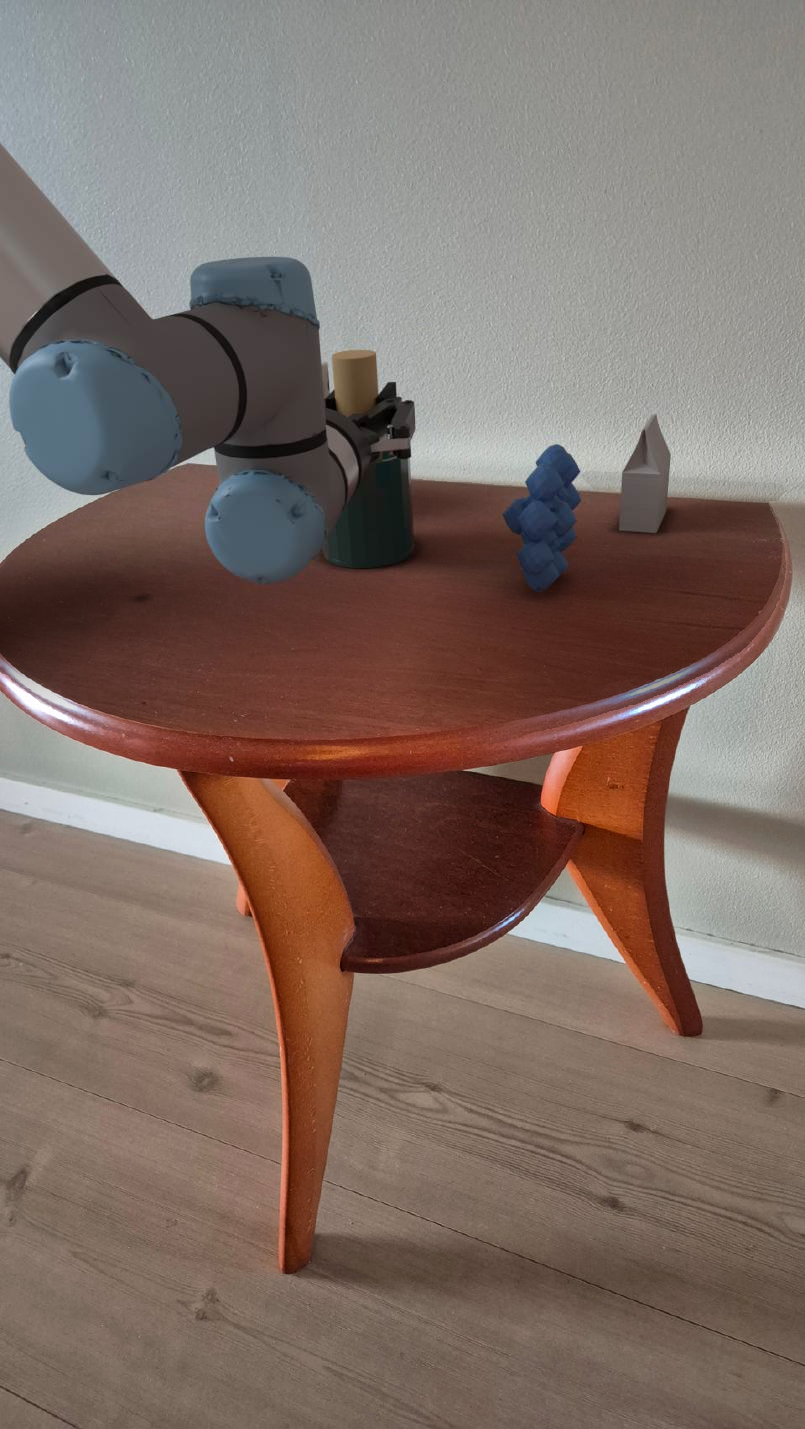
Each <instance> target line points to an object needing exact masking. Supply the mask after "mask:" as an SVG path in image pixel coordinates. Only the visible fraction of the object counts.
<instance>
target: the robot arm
mask: <svg viewBox="0 0 805 1429" xmlns="http://www.w3.org/2000/svg"><path fill="white" fill-rule="evenodd" d="M312 282H313V280H312V276H311V273H310V271H309V269H308V267H307V266H306V265H305V264H304V263H303V262H302V261H300V260H298V259H296V258H293V257H287V256H252V257H251V256H250V257H237V258H229V259H228V258H227V259H220V260H219V259H218V260H213V261H209V262H208V261H207V262H204V263H201V264H199V265H198V266H197V267H195V269H193V271H192V272H191V274H190V278H189V284H190V285H189V286H190V301H189V302H188V303H189V309H188V310H183V311H180V312H177V313H173V314H169V315H165V316H161V317H158V318H152V317H151V316H150V314H148V312H146V310H145V309H144V307H143V306H142V305H141V304H140V303H139V302H138V301H137V299H136V298H135V297H134V296H133V295H132V294H131V292H129V290H128V289H126V288H125V286H124V285H123V284H122V283H121V282H120V281H119V279H117V277H116V276H115V275H114V274H113V272H112V271H111V270H110V268H108V266H106V264H105V263H104V262H103V261H102V260H101V259H100V257H99V256H98V255H97V254H96V253H95V252H94V250H93V249H92V248H91V247H90V246H89V245H88V243H87V242H86V241H85V240H84V239H83V238H82V236H81V235H80V234H79V233H78V231H76V229H75V228H74V227H73V226H72V225H71V223H70V222H69V221H68V220H67V219H66V218H65V217H64V215H63V214H62V213H61V212H60V211H59V210H58V208H57V207H56V206H55V205H54V204H53V203H52V201H51V200H50V199H49V198H48V197H47V196H46V194H45V193H44V191H43V190H41V188H40V187H39V186H38V185H37V184H36V183H35V182H34V181H33V179H32V178H31V177H30V176H29V174H28V173H27V172H26V171H25V170H24V168H22V167H21V165H20V164H19V163H18V161H16V159H15V158H14V157H13V156H12V154H11V153H10V152H9V151H8V150H7V148H6V147H5V146H4V145H3V144H2V143H1V142H0V359H1V360H2V362H4V363H5V365H6V366H7V367H8V368H9V369H10V371H11V372H12V373H13V375H14V376H13V378H12V379H11V380H12V381H11V382H10V387H9V393H8V395H9V396H8V407H9V415H10V419H11V423H12V427H13V430H14V431H16V432H18V433H19V434H20V436H21V439H22V442H23V444H24V448H23V450H24V453H25V455H26V456H27V458H28V459H29V461H30V462H31V463H32V464H33V466H34V467H35V468H36V469H37V470H38V471H39V473H41V474H42V476H44V477H46V478H47V479H48V480H49V481H50V482H52V483H54V484H55V485H57V486H58V487H60V488H62V489H64V490H66V491H69V492H72V493H75V494H78V495H82V496H83V495H85V496H102V495H105V494H110V493H113V492H116V491H118V490H122V489H126V488H129V487H132V486H134V485H139V484H142V483H145V482H150V481H153V480H155V479H157V478H158V477H159V476H162V474H166V473H167V472H168V471H170V470H171V468H173V467H176V466H178V465H181V463H184V462H186V461H187V460H190V459H192V458H193V457H196V456H198V455H200V454H201V453H204V452H206V451H207V450H211V449H213V452H214V457H215V464H216V471H217V477H218V478H217V479H218V484H219V485H218V486H217V487H216V488H215V492H214V493H213V495H212V497H211V499H210V502H209V504H208V506H207V509H206V513H205V518H204V530H205V531H204V532H205V537H206V540H207V543H208V547H209V548H210V550H211V552H212V554H213V555H214V557H215V558H216V559H217V561H218V562H219V563H220V564H221V565H222V566H223V568H225V569H226V570H227V571H228V572H229V573H231V574H233V575H234V576H236V577H237V578H239V579H243V580H244V581H247V582H250V583H254V584H260V585H274V584H280V583H283V582H286V581H288V580H290V579H292V578H295V577H296V576H297V575H299V574H300V573H301V572H302V571H304V569H305V568H306V567H307V566H308V565H309V564H310V563H311V562H312V561H313V560H314V559H316V558H317V557H318V556H319V555H320V553H321V551H323V546H324V544H325V543H326V540H327V538H328V536H329V534H330V533H331V531H332V529H333V527H334V526H335V524H336V522H337V520H338V519H339V517H340V515H341V514H342V512H343V510H344V509H345V507H346V505H347V504H348V502H349V501H350V499H351V497H352V496H353V495H354V493H355V492H356V490H357V489H358V487H359V486H360V484H361V482H362V481H363V479H364V477H365V474H366V472H367V469H368V466H369V463H370V462H372V461H375V460H376V459H378V458H379V456H380V452H384V451H388V454H389V455H390V456H393V455H395V456H396V457H397V458H399V459H407V458H410V459H411V458H412V440H413V437H414V434H415V432H416V410H415V408H416V407H415V401H414V400H412V399H411V400H410V399H405V400H404V401H403V398H402V396H397V394H398V393H397V381H388V382H387V383H386V384H385V386H383V388H382V390H381V391H380V392H378V393H379V395H378V396H377V397H376V406H374V407H373V408H371V409H369V410H368V411H366V412H365V413H363V414H352V415H350V416H349V417H346V416H345V415H343V414H341V413H339V412H337V411H336V402H335V390H334V389H333V390H332V391H330V394H329V395H328V396H327V397H326V398H324V391H323V378H322V365H321V361H322V353H321V338H320V329H321V324H320V323H321V322H320V321H319V319H318V317H317V309H316V303H315V294H314V289H313V283H312Z"/></svg>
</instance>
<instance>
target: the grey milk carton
mask: <svg viewBox="0 0 805 1429" xmlns="http://www.w3.org/2000/svg"><path fill="white" fill-rule="evenodd" d="M658 420H659V419H658V415H657V413H655V414H654V413H652V414H651V415H650V417H649V419H647V422H646V423H645V425H644V426H643V428H642V430H641V431H640V436H639V439H638V441H637V443H636V446H635V448H634V450H633V452H632V453H631V456H630V458H629V459H628V461H627V463H626V464H625V466H624V468H623V470H622V472H621V484H620V486H621V487H620V505H619V506H620V508H619V521H618V523H619V524H618V531H622V532H636V533H637V532H638V533H649V534H652V533H653V534H657V532H658V531H659V528H660V525H661V523H662V521H663V519H664V517H665V515H666V513H667V507H668V496H669V495H668V494H669V485H670V484H669V483H670V469H671V459H672V458H671V457H672V454H671V451H670V450H669V447H668V445H667V442H666V440H665V437H664V435H663V433H662V430H661V427H660V424H659V421H658Z"/></svg>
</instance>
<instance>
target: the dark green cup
mask: <svg viewBox="0 0 805 1429" xmlns="http://www.w3.org/2000/svg"><path fill="white" fill-rule="evenodd" d="M382 457H383V460H381V461H376V462H370V463H369V466H368V469H367V472H366V474H365V477H364V479H363V481H362V482H361V484H360V486H359V487H358V489H357V490H356V492H355V493H354V495H353V496H352V497H351V499H350V501H349V502H348V504H347V505H346V507H345V509H344V510H343V512H342V514H341V515H340V517H339V519H338V520H337V522H336V524H335V526H334V527H333V529H332V531H331V533H330V534H329V536H328V538H327V540H326V543H325V544H324V546H323V549H322V552H323V558H324V559H325V560H326V561H327V562H329V563H331V564H333V565H336V566H339V567H343V568H350V569H373V568H381V567H386V566H391V565H394V564H397V563H400V562H402V561H404V560H406V559H407V558H409V557H411V555H412V554H413V553H414V551H415V530H414V527H415V526H414V511H413V510H414V509H413V508H414V507H413V490H412V473H411V470H412V469H411V457H410V458H407V459H399V458H397V457H396V456H395V455H393V456H390V455H389V454H388V451H384V452H382Z"/></svg>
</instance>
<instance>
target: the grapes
mask: <svg viewBox="0 0 805 1429" xmlns="http://www.w3.org/2000/svg"><path fill="white" fill-rule="evenodd" d="M535 466H536V468H535V469H534V470H533V471H532V472H531V473H530V474H529V476H528V477H527V478H526V479H525V481H524V483H525V486H526V487H527V490H528V494H527V496H526V497H523V496H520V497H518V498H515V499H514V500H513V501H512V502H511V503H510V504H509V505H508V506H507V507H506V509H505V510H504V511H503V513H502V518H503V520H504V522H505V523H506V526H507V527H508V529H509V530H510V532H511V533H513V534H514V535H515V534H516V535H518V536H520V537H521V540H522V544H523V545H522V546H521V548H519V550H518V551H517V552H516V557H517V560H518V562H519V564H520V567H521V568H522V570H521V571H522V575H523V577H524V579H525V581H526V583H527V585H528V586H529V588H530V589H531V590H533V591H536V592H538V593H542V592H544V591H547V589H548V588H549V587H550V586H552V584H553V583H554V582H556V580H557V579H558V578H559V577H560V576H561V575H562V574H563V573H564V572H565V571H566V570H567V569H568V568H569V564H568V561H567V560H566V558H565V556H564V554H563V552H564V551H565V550H566V549H567V548H569V546H570V545H571V544H573V542H574V541H575V540H576V539H577V538H578V535H577V533H576V531H575V529H574V526H575V525H576V523H577V522H578V519H577V517H576V515H575V512H574V510H575V509H576V508H577V507H578V506H579V504H580V503H581V502H582V498H581V496H580V493H579V491H578V490H577V488H576V486H575V485H574V484H573V481H575V480H576V478H578V476H579V475H580V474H581V470H580V467H579V465H578V463H577V462H576V460H575V459H574V457H573V456H572V454H570V453H569V452H568V451H567V450H566V448H565V447H564V446H562V445H560V444H557V443H556V444H551V445H549V446H548V447H547V448H546V449H545V450H544V451H543V452H542V453H541V455H540V456H539V457H538V458H537V459H536V461H535Z"/></svg>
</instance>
